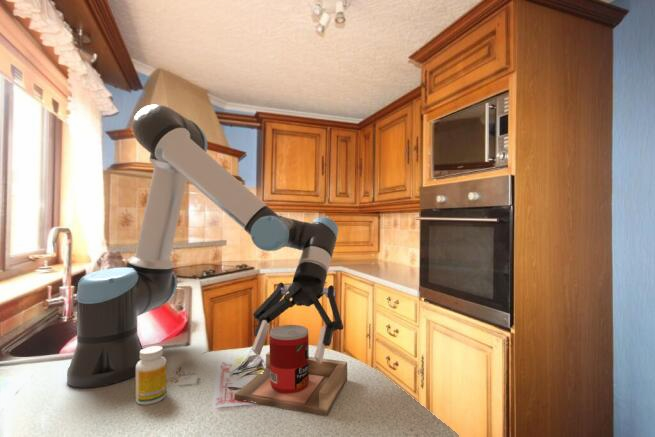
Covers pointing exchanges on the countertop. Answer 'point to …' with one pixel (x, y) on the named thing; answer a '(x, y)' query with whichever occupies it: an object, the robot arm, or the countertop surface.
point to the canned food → (289, 358)
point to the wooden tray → (312, 399)
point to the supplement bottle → (150, 376)
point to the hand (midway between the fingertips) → (285, 356)
